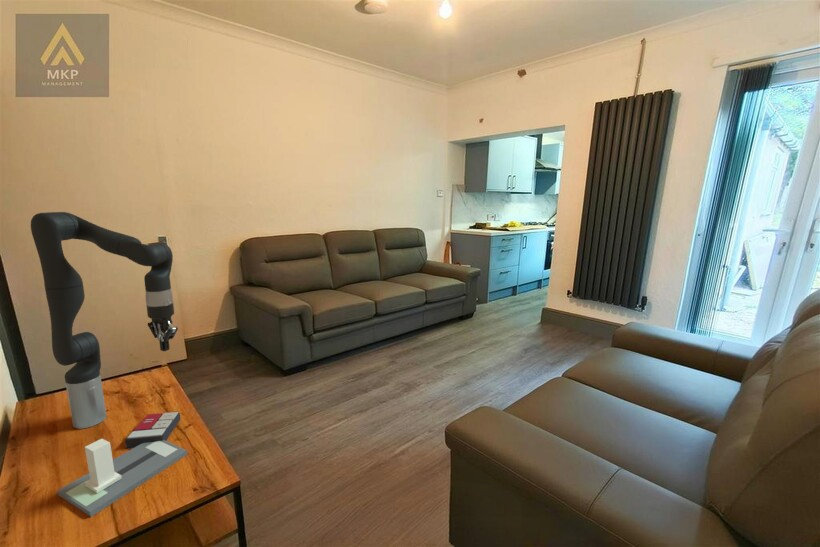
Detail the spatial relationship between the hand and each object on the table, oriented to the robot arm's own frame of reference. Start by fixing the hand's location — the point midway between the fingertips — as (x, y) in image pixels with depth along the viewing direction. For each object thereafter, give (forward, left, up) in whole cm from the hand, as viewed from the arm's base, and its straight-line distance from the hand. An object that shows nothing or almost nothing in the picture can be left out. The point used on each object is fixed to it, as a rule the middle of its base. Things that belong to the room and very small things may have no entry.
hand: (165, 350), depth 125 cm
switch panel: (+11, -21, -29) cm, 37 cm away
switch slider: (+11, -27, -27) cm, 40 cm away
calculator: (-1, -6, -30) cm, 30 cm away
